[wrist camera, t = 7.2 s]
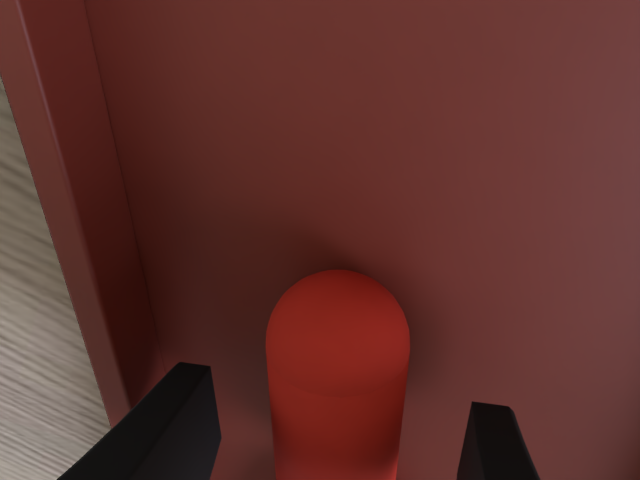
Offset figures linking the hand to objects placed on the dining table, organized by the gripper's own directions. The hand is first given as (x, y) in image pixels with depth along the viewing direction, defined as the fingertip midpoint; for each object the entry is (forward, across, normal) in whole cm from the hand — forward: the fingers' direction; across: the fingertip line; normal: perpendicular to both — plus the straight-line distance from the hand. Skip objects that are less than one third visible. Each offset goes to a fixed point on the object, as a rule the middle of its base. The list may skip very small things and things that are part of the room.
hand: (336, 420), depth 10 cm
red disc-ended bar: (+1, 0, +2) cm, 2 cm away
